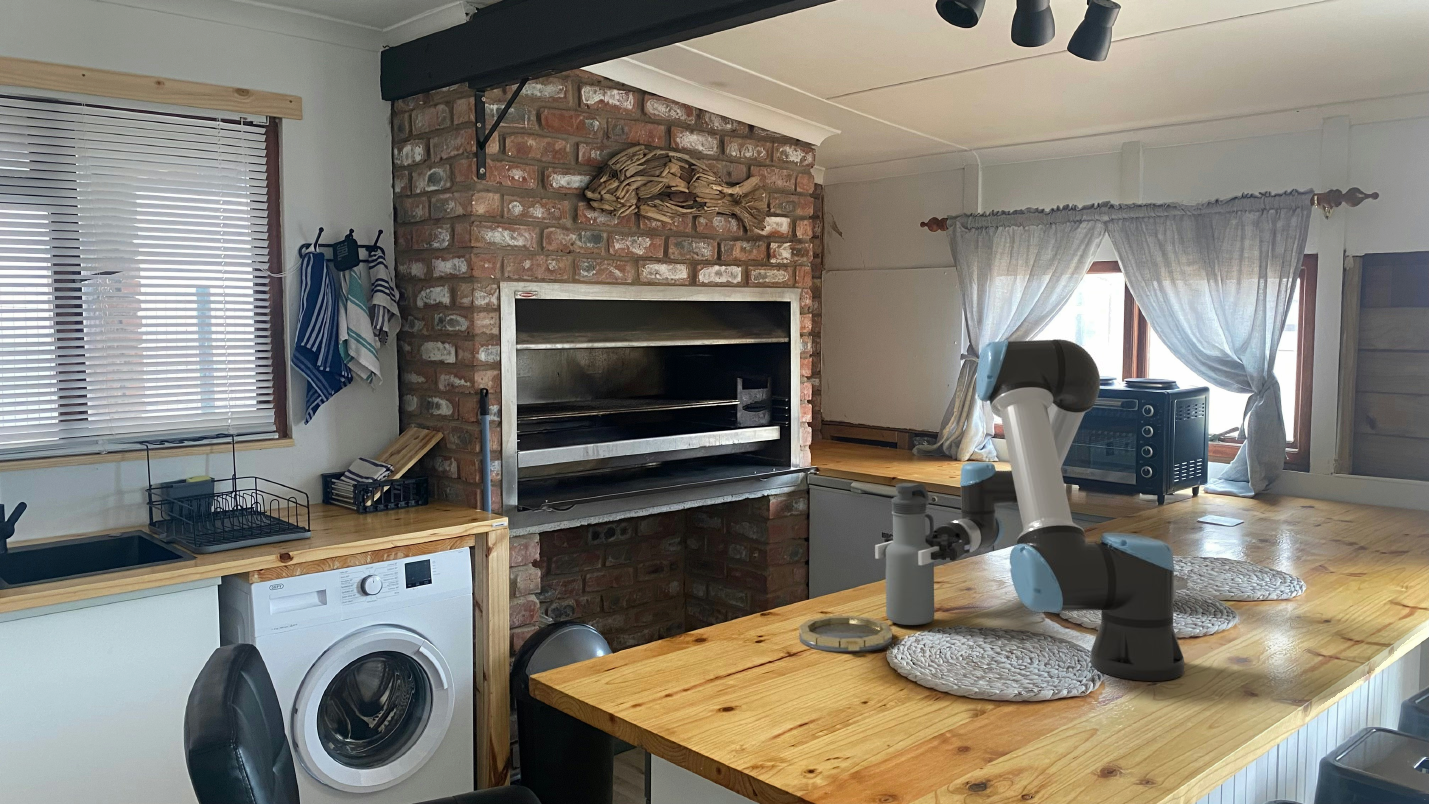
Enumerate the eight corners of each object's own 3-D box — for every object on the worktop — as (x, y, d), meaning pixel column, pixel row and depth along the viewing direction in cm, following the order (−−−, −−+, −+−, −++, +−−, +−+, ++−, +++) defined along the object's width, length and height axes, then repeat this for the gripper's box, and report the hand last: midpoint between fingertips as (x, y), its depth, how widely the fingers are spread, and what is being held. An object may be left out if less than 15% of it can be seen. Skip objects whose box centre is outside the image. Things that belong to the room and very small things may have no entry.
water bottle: (901, 610, 216) (900, 479, 215) (943, 617, 210) (942, 482, 209) (877, 621, 209) (875, 485, 207) (920, 628, 202) (918, 488, 201)
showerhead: (1132, 569, 222) (1181, 570, 220) (1132, 601, 222) (1181, 603, 220) (1141, 579, 212) (1192, 580, 210) (1141, 613, 213) (1192, 614, 211)
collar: (902, 654, 189) (902, 642, 189) (805, 657, 188) (805, 645, 188) (881, 622, 210) (880, 611, 210) (794, 624, 210) (794, 614, 210)
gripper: (1002, 562, 214) (946, 581, 198) (912, 549, 229) (853, 566, 213) (1002, 527, 214) (946, 543, 198) (911, 516, 229) (852, 530, 213)
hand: (897, 555), depth 206 cm, fingers closed on water bottle, 10 cm apart
